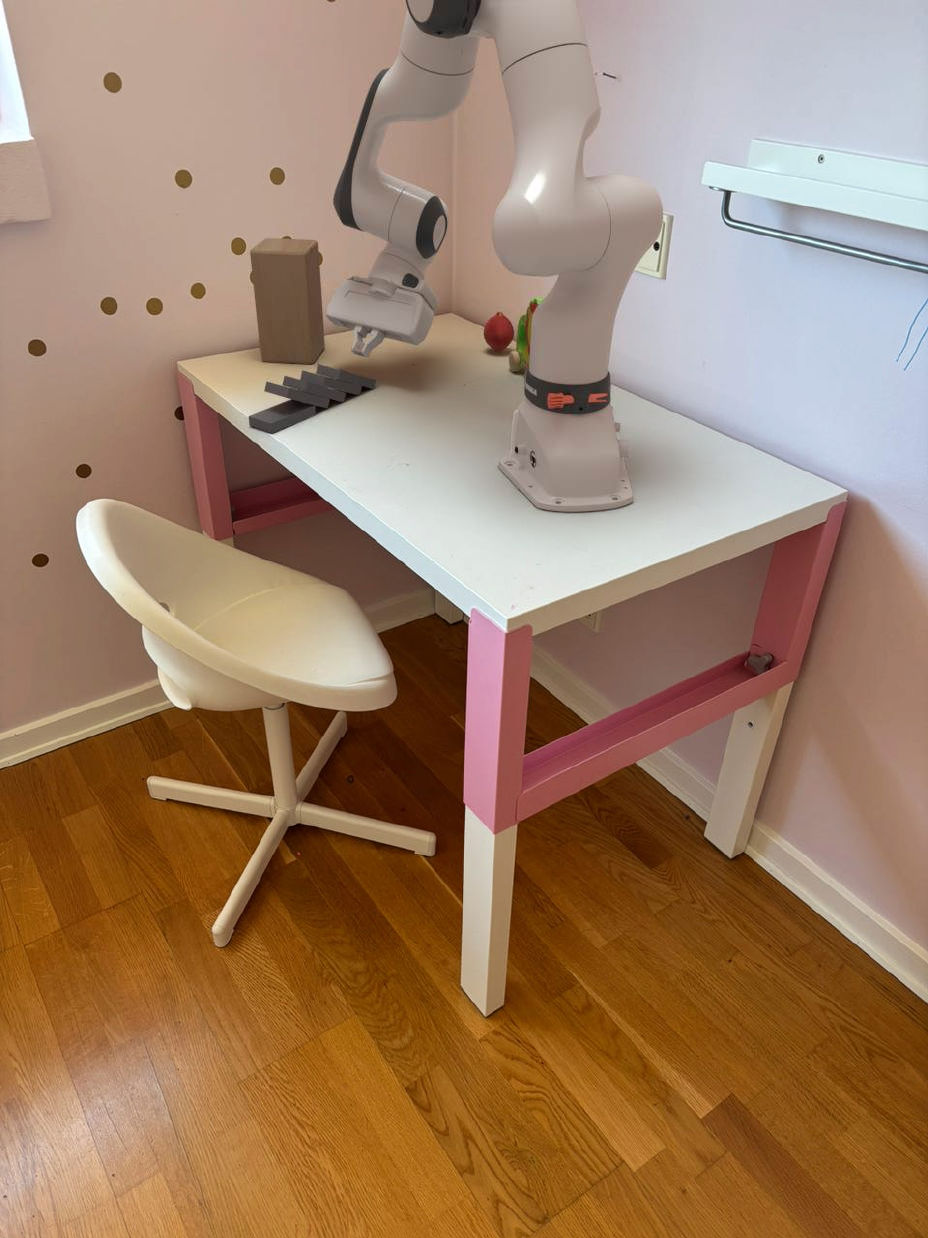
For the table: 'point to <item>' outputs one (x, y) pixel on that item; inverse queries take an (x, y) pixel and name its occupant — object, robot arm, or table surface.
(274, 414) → the domino
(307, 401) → the domino
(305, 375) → the domino
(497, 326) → the onion
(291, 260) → the wooden block
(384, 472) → the table surface
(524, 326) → the toy lion
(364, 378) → the domino
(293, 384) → the domino
